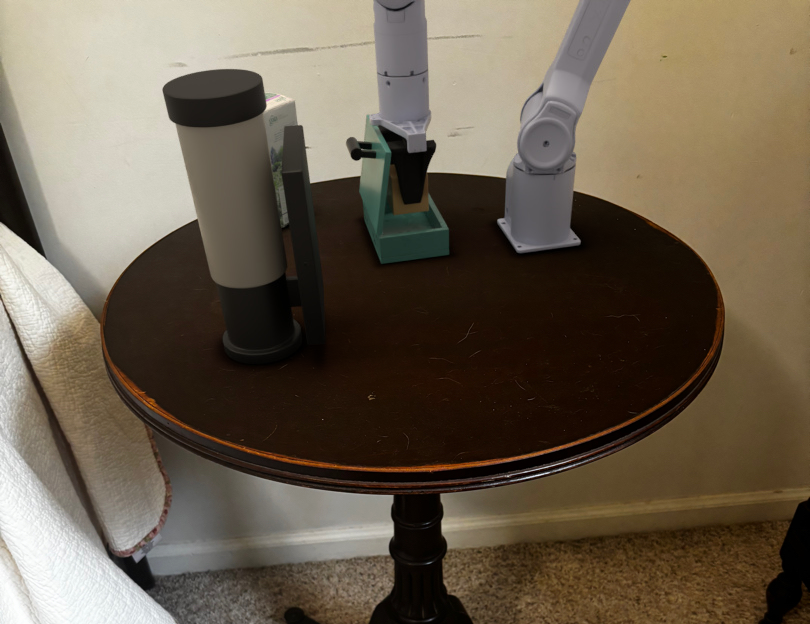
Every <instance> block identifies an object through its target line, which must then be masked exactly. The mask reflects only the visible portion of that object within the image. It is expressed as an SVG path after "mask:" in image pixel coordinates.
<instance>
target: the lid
mask: <svg viewBox="0 0 810 624" xmlns="http://www.w3.org/2000/svg"><path fill="white" fill-rule="evenodd" d="M369 115H370V114H366V115H365V116H366V117H365V127H364V136H363V137H364V138H363V141H361V140H358V139H357V138H356V137H354V136H350V137H348V138H347V139H346V141H345V146H346V148H347V151H348V154H349V156H350V158H351V160H353V161H355V162H358V161H360V160H361V168H360V169H361V170H360V177H359V179H360V180H359V188H358V189H359V191H358V192H359V196H360V197H361V199H362V203H363V202H364V205H365V207H366V210H367V212H368V215H369V217H370V220H371V222H372V225H373V227H374V230H375V232H376V234H377V235H382V229H383V221H384V212H385V204H386V195H387V187H388V178H389V170H390V161H391V151H390V149H389V147H388V145H387V143H386V141H385V139H384V137H383V135H382V133H381V131H380V130H379V128H378V125H377V126H373V125H371V123H370V119H369Z"/></svg>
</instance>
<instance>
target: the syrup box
mask: <svg viewBox="0 0 810 624" xmlns="http://www.w3.org/2000/svg"><path fill="white" fill-rule="evenodd" d="M265 98H266V104H267V107H266V109H265V111H264V112H263V116H264V122H265V128H266V135H267V141H268V147H269V153H270V159H271V166H272V172H273V178H274V184H275V191H276V197H277V203H278V209H279V216H280V222H281V228H282V229H284V228H285V227H287V226H289V220H288V214H287V207H286V201H285V194H284V188H283V181H282V175H281V173H282V155H283V137H284V127H285V126H295V125H299V121H298V115H297V107H296V100H295V99H294V98H291V97H289V96H287V95H283V94H280V93H276V92H270V91H269V92H268V91H265Z"/></svg>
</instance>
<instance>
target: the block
mask: <svg viewBox="0 0 810 624" xmlns="http://www.w3.org/2000/svg"><path fill="white" fill-rule="evenodd" d="M428 193H429V174H428V173H427V174H426V179H425V184H424V190H423V196H422V200H421V203H415V204H408V205H404V202H403V200H402V197H401V193H400V188H399V182H398V177H397V173H396V169H395V166H394V164H393V165H390V170H389V178H388V187H387V202H388V204H389V206H390V208H391V210H392V213H393V215H401V214H408V213H416V212H424V211H429V197H428Z"/></svg>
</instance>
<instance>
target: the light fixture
mask: <svg viewBox="0 0 810 624" xmlns="http://www.w3.org/2000/svg"><path fill="white" fill-rule="evenodd" d="M265 92H266V91H265V85H264V78H263V76H262V75H261V74H260V73H258V72H256V71H253V70H247V69H242V68H220V69H219V68H218V69H209V70H202V71H196V72H192V73H187V74H184V75H180V76H178V77H176V78H173V79H171V80H169V81H168V82H166V83H164V85H163V87H162V95H163V99H164V104H165V107H166V112H167V115H168V120H169V121H170V122H172V123H174V124H175V129H176V132H177V136H178V141H179V145H180V150H181V155H182V158H183V162H184V167H185V171H186V175H187V179H188V184H189V189H190V192H191V197H192V201H193V205H194V211H195V214H196V218H197V222H198V227H199V231H200V234H201V240H202V244H203V248H204V253H205V257H206V261H207V265H208V270H209V274H210V277H211V279H212V280H213V282H215V286H216V290H217V294H218V299H219V303H220V307H221V312H222V316H223V320H224V325H225V329H226V330H225V331H224V332H223V335H222V344H223V348H224V352H225V353H226V355H227V356H228V357H229V358H230V359H232V360H233V361H235V362H238V363H242V364H245V365H246V364H247V365H266V364H272V363H276V362H279V361H281V360H284V359H286V358H288V357H290V356H292V355H293V354H295V353H296V352H297V351H298V350H299V349H300V348H301V345H302V343H303V334H302V333H303V332H302V327H301V325H300V323H299V322H298V321H297V320H295V319H294V317H293V310H292V309H293V308H297V307H298V308H299V307H301V310H302V311H301V312H302V317H303V324H304V331H305V337H306V343H307V346H317V345H325V344H326V342H327V340H326V315H325V313H326V312H325V287H324V286H325V285H324V279H323V271H322V262H321V256H320V254H321V253H320V248H319V241H318V240H319V239H318V233H317V225H316V217H315V210H314V209H315V208H314V202H313V193H312V186H311V178H310V177H311V176H310V169H309V162H308V155H307V147H306V140H305V132H304V127H303V125H302V124H298V125H295V126H285V127H284V137H283V155H282V173H281V175H282V181H283V188H284V194H285V201H286V207H287V214H288V220H289V225H288V227H289V233H290V240H291V246H292V252H293V259H294V265H295V271H296V275H291V276H287V273H286V271H287V269H288V260H287V254H286V248H285V241H284V240H285V239H284V235H283V228H281V222H280V216H279V209H278V203H277V197H276V191H275V184H274V178H273V172H272V166H271V159H270V153H269V147H268V141H267V135H266V128H265V122H264V116H263V112H264V111H265V109H266V107H267V104H266V98H265Z"/></svg>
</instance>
